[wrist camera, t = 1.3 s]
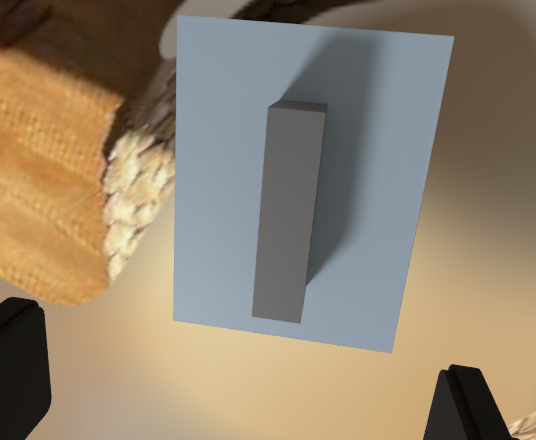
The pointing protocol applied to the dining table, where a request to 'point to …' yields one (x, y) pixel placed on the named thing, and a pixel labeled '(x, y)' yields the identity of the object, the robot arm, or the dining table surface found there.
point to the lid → (301, 175)
